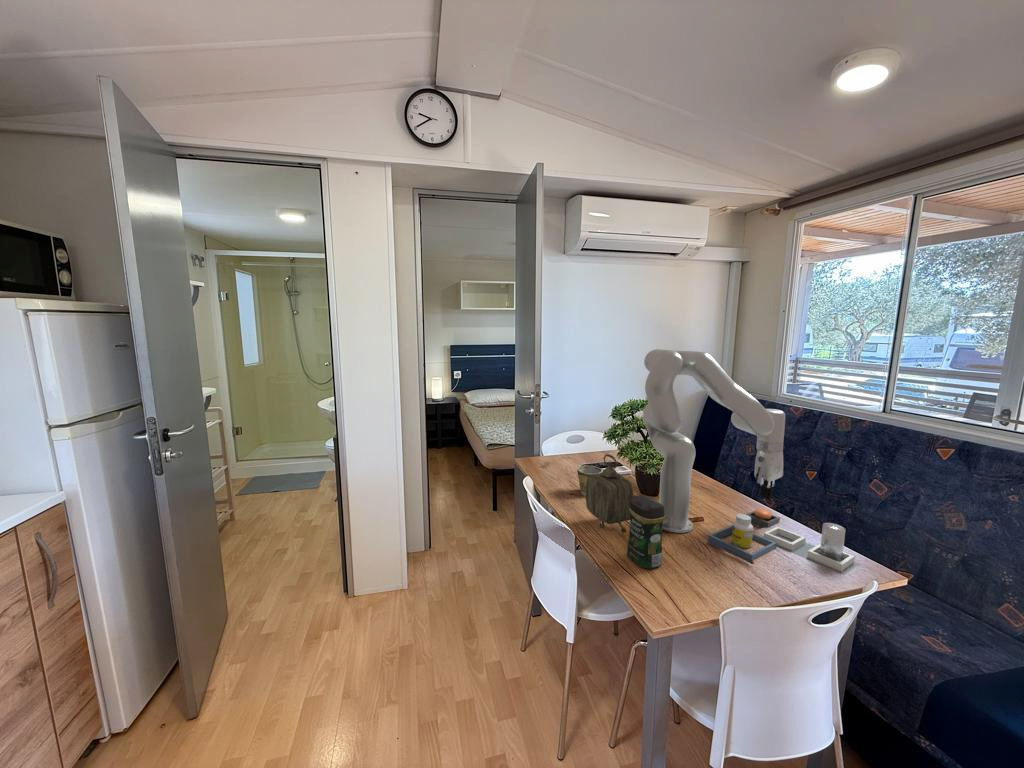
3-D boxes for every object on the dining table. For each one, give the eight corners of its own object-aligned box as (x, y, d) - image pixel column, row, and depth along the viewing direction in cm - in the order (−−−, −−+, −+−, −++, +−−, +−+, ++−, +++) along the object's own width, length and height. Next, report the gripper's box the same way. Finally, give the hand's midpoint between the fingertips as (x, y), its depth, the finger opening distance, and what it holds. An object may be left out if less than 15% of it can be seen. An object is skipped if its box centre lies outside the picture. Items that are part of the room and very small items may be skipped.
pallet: (843, 577, 107) (845, 567, 106) (758, 541, 125) (759, 532, 125) (859, 566, 112) (860, 556, 111) (774, 533, 130) (775, 524, 130)
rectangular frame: (751, 563, 113) (752, 555, 113) (707, 542, 124) (708, 534, 124) (775, 550, 120) (776, 543, 119) (732, 531, 131) (732, 524, 131)
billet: (837, 567, 110) (841, 532, 109) (816, 558, 114) (819, 525, 113) (844, 561, 112) (848, 528, 111) (823, 553, 117) (827, 521, 115)
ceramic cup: (588, 500, 156) (589, 475, 154) (571, 491, 164) (572, 468, 163) (611, 493, 162) (612, 469, 161) (594, 485, 171) (595, 462, 169)
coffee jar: (622, 554, 117) (624, 494, 115) (644, 549, 120) (647, 490, 118) (643, 572, 108) (646, 507, 106) (666, 567, 111) (670, 503, 109)
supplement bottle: (727, 542, 125) (729, 512, 123) (743, 541, 125) (746, 512, 124) (738, 551, 119) (741, 520, 118) (755, 551, 120) (758, 520, 118)
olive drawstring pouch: (631, 534, 129) (635, 460, 126) (608, 540, 125) (611, 463, 122) (604, 515, 142) (607, 448, 139) (583, 520, 139) (585, 450, 135)
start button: (766, 520, 134) (766, 516, 134) (751, 514, 138) (751, 510, 138) (774, 517, 136) (774, 513, 136) (759, 511, 141) (759, 507, 140)
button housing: (767, 530, 133) (768, 523, 132) (745, 521, 139) (745, 514, 139) (779, 524, 136) (779, 517, 136) (756, 516, 143) (757, 509, 142)
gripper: (770, 452, 127) (766, 506, 129) (793, 444, 135) (789, 496, 137) (746, 446, 134) (743, 498, 136) (769, 439, 141) (766, 489, 143)
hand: (766, 497), depth 136 cm, fingers closed
